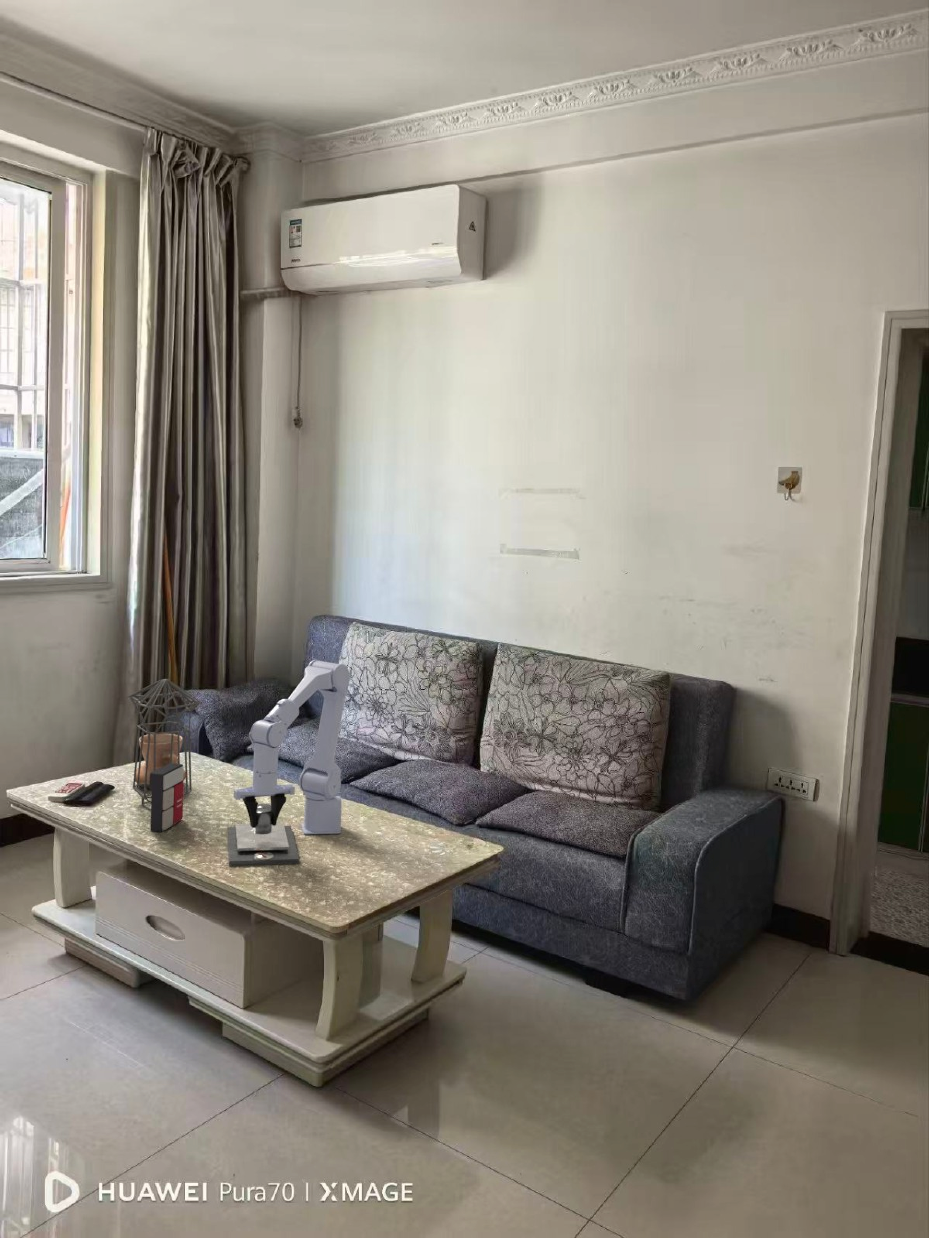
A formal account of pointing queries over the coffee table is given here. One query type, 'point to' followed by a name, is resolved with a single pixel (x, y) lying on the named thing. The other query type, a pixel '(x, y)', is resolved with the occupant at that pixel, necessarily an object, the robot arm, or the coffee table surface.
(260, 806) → the cylinder
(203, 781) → the coffee table surface
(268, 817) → the cylinder
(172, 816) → the grey and red box
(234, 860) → the base
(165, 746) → the ceramic jug
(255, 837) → the pan
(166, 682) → the geometric lantern
